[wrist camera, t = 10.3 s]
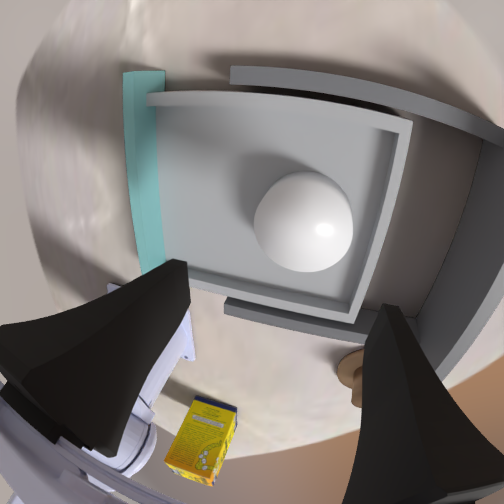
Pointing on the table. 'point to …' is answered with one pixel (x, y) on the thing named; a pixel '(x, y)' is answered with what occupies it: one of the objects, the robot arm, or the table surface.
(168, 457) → the supplement box
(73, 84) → the table surface
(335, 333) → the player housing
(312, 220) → the white round dome
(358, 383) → the disc stand
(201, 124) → the tray
